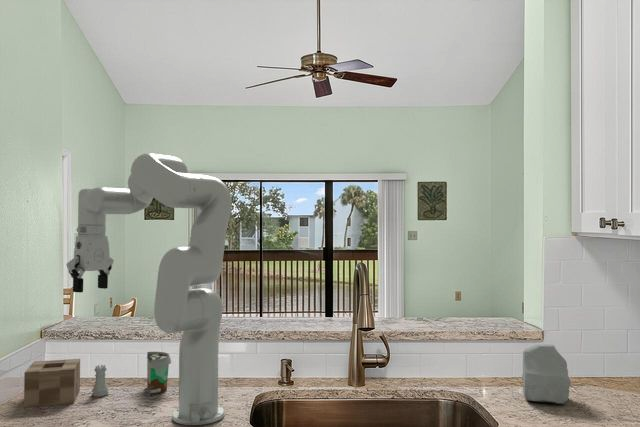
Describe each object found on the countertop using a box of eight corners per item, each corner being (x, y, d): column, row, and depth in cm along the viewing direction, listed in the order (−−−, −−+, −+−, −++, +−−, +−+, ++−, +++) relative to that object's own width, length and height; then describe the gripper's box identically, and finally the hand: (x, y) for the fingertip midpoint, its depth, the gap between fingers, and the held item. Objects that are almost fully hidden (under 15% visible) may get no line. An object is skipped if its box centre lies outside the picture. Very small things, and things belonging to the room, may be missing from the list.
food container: (173, 395, 156) (173, 359, 157) (150, 397, 154) (150, 361, 154) (168, 383, 168) (168, 349, 168) (146, 385, 166) (147, 351, 166)
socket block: (74, 403, 149) (74, 369, 149) (24, 407, 146) (24, 372, 146) (79, 390, 161) (80, 358, 161) (33, 393, 157) (34, 361, 157)
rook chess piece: (111, 392, 159) (111, 364, 159) (104, 397, 154) (104, 368, 154) (96, 392, 159) (96, 363, 159) (88, 397, 155) (88, 367, 155)
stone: (566, 395, 157) (565, 341, 157) (571, 409, 145) (571, 351, 146) (521, 391, 161) (521, 338, 161) (523, 404, 149) (523, 347, 149)
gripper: (79, 232, 154) (78, 294, 153) (122, 231, 170) (121, 287, 170) (58, 231, 156) (57, 292, 156) (102, 230, 172) (101, 286, 172)
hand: (90, 290), depth 163 cm, fingers open, 9 cm apart
